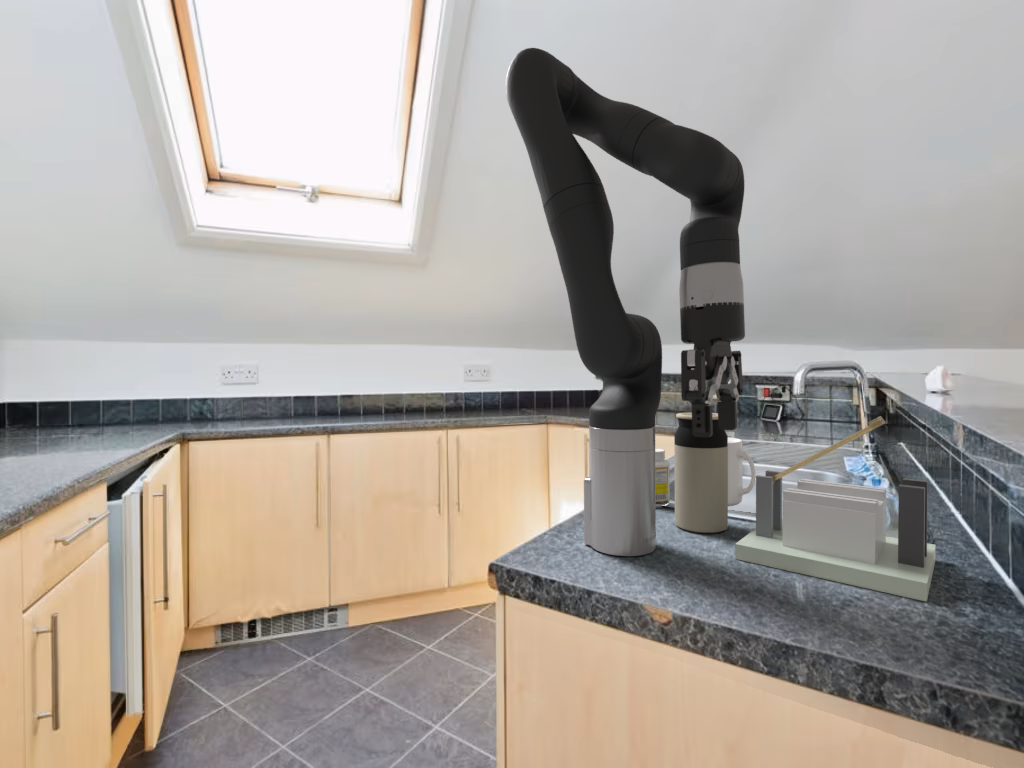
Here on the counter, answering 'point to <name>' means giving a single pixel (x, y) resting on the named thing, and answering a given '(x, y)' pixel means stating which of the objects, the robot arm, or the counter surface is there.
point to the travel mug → (701, 478)
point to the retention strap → (831, 447)
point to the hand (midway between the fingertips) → (715, 433)
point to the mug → (737, 471)
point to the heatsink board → (843, 567)
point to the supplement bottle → (662, 478)
